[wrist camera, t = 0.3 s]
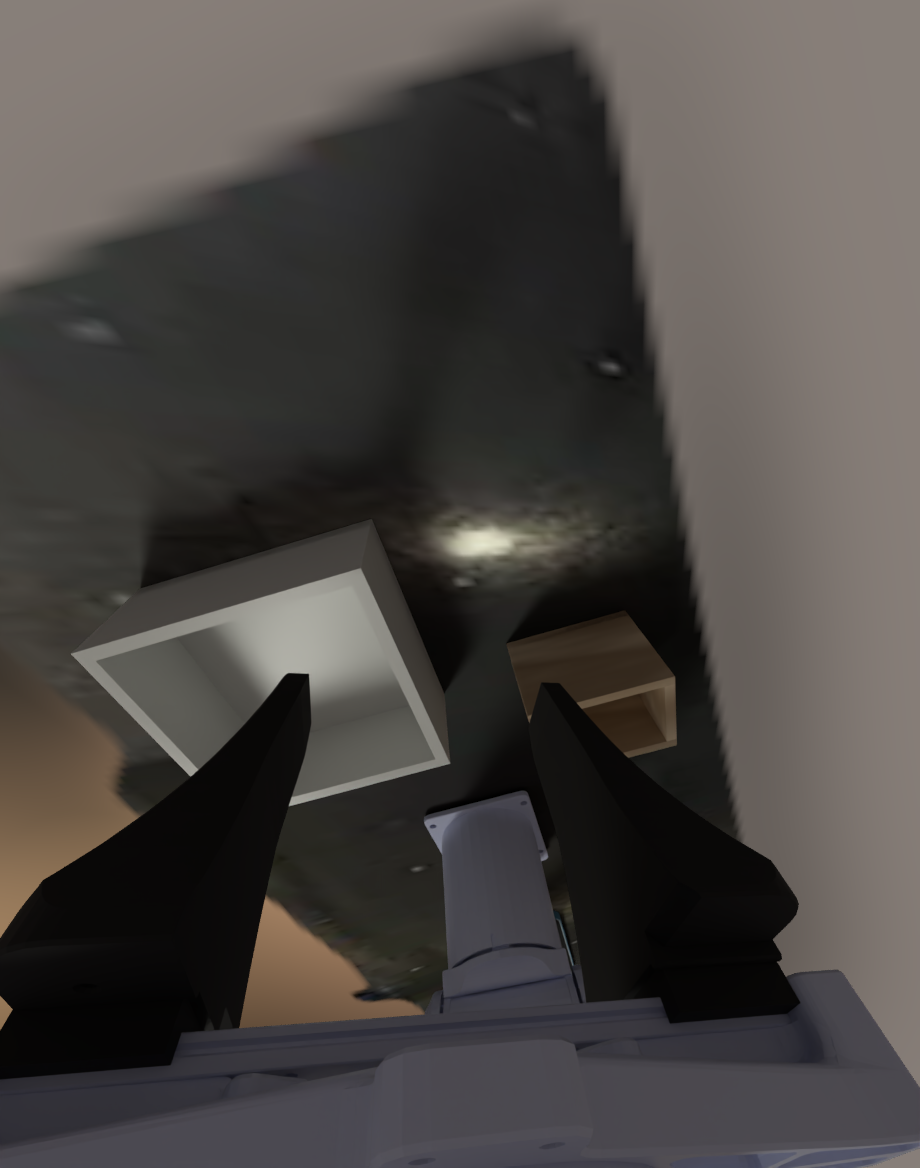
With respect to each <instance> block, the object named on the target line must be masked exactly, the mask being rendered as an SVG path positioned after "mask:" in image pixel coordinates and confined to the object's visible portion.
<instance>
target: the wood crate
mask: <svg viewBox="0 0 920 1168" xmlns="http://www.w3.org/2000/svg"><path fill="white" fill-rule="evenodd" d="M506 644H507V648H508V651H509V655H510V658H511V662H512V665H513V669H514V672H515V676H516V679H517V683H518V686H519V690H520V693H521V697H522V700H523V704H524V707H525V711H526V714H527V717H528V721H529V723H530V719H531V716H532V712H533V709H534V706H535V702H536V699H537V695H538V692H539V688H540V685H541V682H547V683H560V684H561V685H562V686H563V688H564V689H565V690H566V691H567V692H568V693H569V695H570V696H571V697H572V698H573V699H574V700H575V702H576V703H577V704H578V705H579V706H580V707H581V708H582V710H583V711H584V712H585V713H586V714H587V715H588V716H589V718H590V719H591V720H592V721H593V722H594V723H595V724H596V725H597V727H598V728H599V729H600V730H601V731H602V732H603V733H604V734H605V735H606V736H607V737H608V738H609V739H610V740H611V741H612V742H613V743H614V744H615V745H616V746H617V747H618V748H619V749H620V750H621V751H622V752H623V753H624V754H625V755H626V756H627V757H628V758H629V757H633V756H636V755H640V754H644V753H648V752H652V751H656V750H660V749H664V748H667V747H671V746H675V745H677V737H676V697H675V676H674V674H673V673H672V672H671V670H670V669H669V668H668V667H667V665H666V664H665V663H664V661H663V660H662V659H661V657H660V656H659V655H658V653H657V652H656V651H655V649H654V648H653V647H652V645H651V644H650V643H649V641H648V640H647V639H646V637H645V636H644V635H643V633H642V632H641V631H640V629H639V628H638V627H637V626H636V624H635V623H634V622H633V620H632V619H631V618H630V616H629V615H628V614H627V612H626V611H625V610H624V611H621V612H617V613H614V614H610V615H606V616H603V617H599V618H596V619H592V620H588V621H585V622H581V623H578V624H574V625H571V626H567V627H563V628H560V629H556V630H553V631H549V632H545V633H542V634H538V635H535V636H531V637H528V638H524V639H520V640H517V641H513V642H510V643H506Z"/></svg>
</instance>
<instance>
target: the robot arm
mask: <svg viewBox="0 0 920 1168" xmlns="http://www.w3.org/2000/svg"><path fill="white" fill-rule="evenodd" d="M311 723H312V722H311V702H310V682H309V674H303V673H287V674H286V675H284V677H283V678H282V679H281V681H280V682H279V683H278V685H277V686H276V687H275V688H274V690H273V691H272V692H271V694H270V695H269V696H268V697H267V698H266V700H265V701H264V702H263V703H262V705H261V706H260V707H259V708H258V709H257V710H256V712H255V713H254V714H253V715H252V716H251V717H250V718H249V719H248V721H247V722H246V723H245V724H244V725H243V726H242V727H241V728H240V729H239V731H238V732H237V733H236V734H235V735H234V736H233V737H232V738H231V739H230V740H229V741H228V742H227V743H226V744H225V745H224V746H223V747H222V748H221V749H220V750H219V751H218V752H217V753H216V754H215V755H214V756H213V757H212V758H211V759H210V760H209V761H207V762H206V763H205V764H204V765H203V766H202V767H201V768H200V769H199V770H198V771H196V772H195V773H194V774H193V775H192V776H191V777H190V778H189V779H187V780H186V781H185V782H184V783H183V784H181V785H180V786H179V787H178V788H176V789H175V790H174V791H173V792H172V793H170V794H169V795H168V796H167V797H165V798H164V799H163V800H162V801H160V802H159V803H158V804H157V805H155V806H154V807H153V808H151V809H150V810H149V811H147V812H146V813H145V814H143V815H142V816H140V817H139V818H138V819H136V820H135V821H134V822H132V823H131V824H130V825H128V826H127V827H125V828H124V829H122V830H121V831H119V832H118V833H117V834H115V835H114V836H112V837H111V838H110V839H108V840H107V841H105V842H104V843H102V844H101V845H99V846H98V847H96V848H94V849H93V850H91V851H90V852H88V853H86V854H85V855H83V856H82V857H80V858H79V859H77V860H75V861H74V862H72V863H70V864H69V865H67V866H66V867H64V868H63V869H61V870H59V871H58V872H56V873H54V874H53V875H51V876H50V877H48V878H46V879H44V880H43V881H42V882H41V884H40V885H39V887H38V888H37V889H36V890H35V891H34V893H33V894H32V895H31V896H30V897H29V899H28V900H27V901H26V902H25V904H24V905H23V906H22V908H21V909H20V910H19V912H18V913H17V914H16V916H15V917H14V919H13V920H12V922H11V923H10V925H9V926H8V928H7V929H6V930H5V932H4V933H3V935H2V937H1V938H0V996H1V997H2V998H3V999H4V1000H5V1001H6V1002H7V1004H8V1005H9V1006H10V1007H11V1008H12V1009H13V1010H12V1012H11V1014H10V1015H9V1017H8V1018H7V1020H6V1022H5V1024H4V1025H3V1027H2V1029H1V1030H0V1168H861V1167H868V1166H873V1165H876V1164H879V1163H882V1162H884V1161H887V1160H890V1159H892V1158H895V1157H898V1156H900V1155H903V1154H906V1153H908V1152H911V1151H914V1150H916V1149H919V1148H920V1087H919V1086H918V1084H917V1083H916V1081H915V1080H914V1078H913V1077H912V1076H911V1074H910V1073H909V1071H908V1070H907V1068H906V1067H905V1065H904V1064H903V1062H902V1061H901V1059H900V1058H899V1056H898V1055H897V1053H896V1052H895V1051H894V1049H893V1047H892V1046H891V1044H890V1043H889V1041H888V1040H887V1038H886V1037H885V1035H884V1034H883V1032H882V1031H881V1029H880V1028H879V1026H878V1025H877V1023H876V1022H875V1020H874V1019H873V1017H872V1016H871V1014H870V1013H869V1011H868V1010H867V1009H866V1007H865V1006H864V1004H863V1002H862V1001H861V1000H860V998H859V997H858V995H857V994H856V992H855V991H854V989H853V988H852V986H851V985H850V983H849V982H848V980H847V979H846V977H845V976H844V974H843V973H842V972H841V971H839V970H825V971H811V972H800V973H794V974H792V975H789V976H787V977H785V975H784V973H783V971H782V970H781V968H780V966H779V965H778V963H777V961H780V960H781V959H782V956H781V953H780V951H779V950H778V948H777V946H776V944H775V943H774V941H773V938H774V937H775V936H776V935H777V934H778V933H780V932H781V930H783V929H784V927H786V926H787V924H788V923H790V922H791V920H792V919H793V918H794V916H795V915H796V913H797V910H798V905H799V903H798V900H797V898H796V896H795V895H794V894H793V892H792V890H791V889H790V887H789V886H788V885H787V883H786V882H785V880H784V879H783V877H782V876H781V874H780V873H779V871H778V870H777V868H776V867H775V865H774V864H773V863H772V861H771V860H769V859H767V858H766V857H764V856H763V855H761V854H759V853H758V852H756V851H754V850H753V849H751V848H749V847H747V846H746V845H744V844H742V843H741V842H739V841H737V840H736V839H734V838H732V837H731V836H729V835H727V834H726V833H724V832H723V831H721V830H720V829H718V828H717V827H715V826H714V825H712V824H711V823H709V822H708V821H706V820H705V819H703V818H702V817H700V816H699V815H698V814H696V813H695V812H693V811H692V810H691V809H689V808H688V807H687V806H685V805H684V804H683V803H681V802H680V801H679V800H677V799H676V798H675V797H673V796H672V795H671V794H669V793H668V792H667V791H666V790H664V789H663V788H662V787H661V786H659V785H658V784H657V783H656V782H655V781H653V780H652V779H651V778H650V777H649V776H648V775H647V774H645V773H644V772H643V771H642V770H641V769H640V768H638V767H637V766H636V765H635V764H634V763H633V762H632V761H631V760H630V759H629V758H628V757H627V756H626V755H625V754H624V753H623V752H622V751H621V750H620V749H619V748H618V747H617V746H616V745H615V744H614V743H613V742H612V741H611V740H610V739H609V738H608V737H607V736H606V735H605V734H604V733H603V732H602V731H601V730H600V729H599V728H598V727H597V725H596V724H595V723H594V722H593V721H592V720H591V719H590V718H589V716H588V715H587V714H586V713H585V712H584V711H583V710H582V708H581V707H580V706H579V705H578V704H577V703H576V702H575V700H574V699H573V698H572V697H571V696H570V695H569V693H568V692H567V691H566V690H565V689H564V688H563V686H562V685H561V684H560V683H547V682H541V685H540V688H539V692H538V695H537V699H536V702H535V706H534V709H533V712H532V716H531V719H530V723H529V726H528V730H529V736H530V742H531V747H532V753H533V758H534V761H535V765H536V768H537V772H538V775H539V778H540V781H541V785H542V788H543V791H544V794H545V797H546V801H547V804H548V807H549V810H550V814H551V817H552V820H553V823H554V826H555V830H556V834H557V838H558V841H559V846H560V851H561V856H562V860H563V865H564V870H565V875H566V880H567V885H568V891H569V896H570V901H571V907H572V912H573V918H574V924H575V930H576V936H577V942H578V948H579V955H580V962H581V965H574V966H572V973H571V969H570V965H569V961H568V957H567V953H566V949H565V948H562V946H561V942H560V937H559V933H558V929H557V925H556V921H555V917H554V913H553V908H552V904H551V900H550V896H549V892H548V888H547V883H546V879H545V875H544V871H543V867H542V863H541V861H543V860H546V859H547V858H548V853H547V850H546V847H545V844H544V841H543V838H542V835H541V832H540V829H539V826H538V823H537V820H536V817H535V813H534V810H533V807H532V804H531V801H530V798H529V795H528V793H527V792H526V791H518V792H514V793H510V794H506V795H502V796H498V797H494V798H491V799H487V800H483V801H479V802H475V803H471V804H467V805H463V806H460V807H456V808H452V809H448V810H444V811H440V812H436V813H432V814H429V815H427V816H425V818H424V823H425V825H426V827H427V829H428V831H429V832H430V834H431V836H432V838H433V839H434V841H435V843H436V845H437V846H438V848H439V850H440V852H441V853H442V860H443V879H444V897H445V915H446V933H447V951H448V970H444V971H443V990H441V991H437V992H435V993H434V994H433V996H432V999H431V1002H430V1003H429V1005H428V1007H427V1009H426V1012H425V1015H413V1016H400V1017H386V1018H372V1019H359V1020H346V1021H333V1022H319V1023H305V1024H291V1025H279V1026H264V1027H252V1028H251V1027H250V1028H239V1026H240V1020H241V1015H242V1009H243V1004H244V999H245V994H246V988H247V983H248V978H249V972H250V967H251V963H252V958H253V952H254V948H255V943H256V938H257V932H258V928H259V923H260V918H261V914H262V909H263V904H264V900H265V895H266V890H267V886H268V881H269V877H270V872H271V868H272V864H273V859H274V855H275V850H276V846H277V842H278V839H279V835H280V832H281V828H282V825H283V822H284V819H285V816H286V813H287V810H288V807H289V804H290V801H291V798H292V795H293V791H294V788H295V785H296V782H297V779H298V776H299V773H300V770H301V767H302V763H303V760H304V757H305V753H306V748H307V743H308V739H309V733H310V728H311ZM572 976H573V977H572Z"/></svg>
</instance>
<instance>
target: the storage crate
mask: <svg viewBox="0 0 920 1168" xmlns="http://www.w3.org/2000/svg"><path fill="white" fill-rule="evenodd" d="M71 654H72V655H73V657H74V658H75V659H76V660H77V661H78V662H79V663H80V664H81V665H82V666H83V667H84V668H85V669H86V670H87V671H88V672H89V673H90V674H91V675H92V676H93V677H94V678H95V679H96V680H97V681H98V682H99V683H100V684H101V685H102V686H103V687H104V688H105V689H106V690H107V691H108V692H109V693H110V694H111V695H112V696H113V698H114V699H115V700H116V701H117V702H118V703H119V704H120V705H121V706H122V707H123V708H124V709H125V710H126V711H127V712H128V713H129V714H130V715H131V716H132V717H133V718H134V719H135V720H136V721H137V722H138V723H139V724H140V725H141V726H142V727H143V728H144V729H145V730H146V731H147V732H148V733H149V734H150V735H151V736H152V738H153V739H154V740H155V741H156V742H157V743H158V744H159V745H160V746H161V747H162V748H163V749H164V750H165V751H166V752H167V753H168V754H169V755H170V756H171V757H172V758H173V759H174V760H175V761H176V762H177V763H178V764H179V765H180V766H181V767H182V768H183V769H184V770H185V771H186V772H187V773H188V774H189V775H190V776H192V775H193V774H194V773H195V772H196V771H198V770H199V769H200V768H201V767H202V766H203V765H204V764H205V763H206V762H207V761H209V760H210V759H211V758H212V757H213V756H214V755H215V754H216V753H217V752H218V751H219V750H220V749H221V748H222V747H223V746H224V745H225V744H226V743H227V742H228V741H229V740H230V739H231V738H232V737H233V736H234V735H235V734H236V733H237V732H238V731H239V729H240V728H241V727H242V726H243V725H244V724H245V723H246V722H247V721H248V719H249V718H250V717H251V716H252V715H253V714H254V713H255V712H256V710H257V709H258V708H259V707H260V706H261V705H262V703H263V702H264V701H265V700H266V698H267V697H268V696H269V695H270V694H271V692H272V691H273V690H274V688H275V687H276V686H277V685H278V683H279V682H280V681H281V679H282V678H283V677H284V675H286V674H287V673H303V674H309V682H310V702H311V722H312V723H311V728H310V733H309V739H308V743H307V748H306V753H305V757H304V760H303V763H302V767H301V770H300V773H299V776H298V779H297V782H296V785H295V788H294V791H293V795H292V798H291V801H290V804H289V806H291V805H295V804H299V803H303V802H307V801H310V800H314V799H318V798H322V797H325V796H329V795H333V794H337V793H341V792H344V791H348V790H352V789H356V788H360V787H363V786H367V785H371V784H375V783H378V782H382V781H386V780H390V779H394V778H397V777H401V776H405V775H409V774H413V773H416V772H420V771H424V770H428V769H431V768H435V767H439V766H443V765H447V764H450V756H449V744H448V732H447V721H446V709H445V697H444V692H443V690H442V687H441V685H440V682H439V680H438V678H437V675H436V673H435V670H434V668H433V665H432V663H431V661H430V658H429V656H428V653H427V651H426V649H425V646H424V644H423V641H422V639H421V636H420V634H419V632H418V629H417V627H416V624H415V622H414V620H413V617H412V615H411V612H410V610H409V607H408V605H407V603H406V600H405V598H404V595H403V593H402V591H401V588H400V586H399V583H398V581H397V578H396V576H395V574H394V571H393V569H392V566H391V564H390V562H389V559H388V557H387V554H386V552H385V549H384V547H383V545H382V542H381V540H380V537H379V535H378V533H377V530H376V528H375V525H374V523H373V520H372V519H369V520H365V521H362V522H359V523H356V524H352V525H349V526H346V527H342V528H339V529H336V530H332V531H329V532H326V533H322V534H319V535H316V536H313V537H309V538H306V539H303V540H299V541H296V542H293V543H289V544H286V545H283V546H279V547H276V548H273V549H269V550H266V551H263V552H260V553H256V554H253V555H250V556H246V557H243V558H240V559H236V560H233V561H230V562H226V563H223V564H220V565H216V566H213V567H210V568H207V569H203V570H200V571H197V572H193V573H190V574H187V575H183V576H180V577H177V578H173V579H170V580H167V581H164V582H160V583H157V584H154V585H150V586H147V587H144V588H140V589H139V590H138V591H137V592H136V593H135V594H134V595H133V596H132V597H131V598H129V599H128V600H127V601H126V602H125V603H124V604H123V605H122V606H121V607H120V608H119V609H118V610H117V611H116V612H115V613H114V614H113V615H111V616H110V617H109V618H108V619H107V620H106V621H105V622H104V623H103V624H102V625H101V626H100V627H99V628H98V629H97V630H96V631H94V632H93V633H92V634H91V635H90V636H89V637H88V638H87V639H86V640H85V641H84V642H83V643H82V644H81V645H80V646H79V647H78V648H76V649H75V650H74V651H73V652H72V653H71Z"/></svg>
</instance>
